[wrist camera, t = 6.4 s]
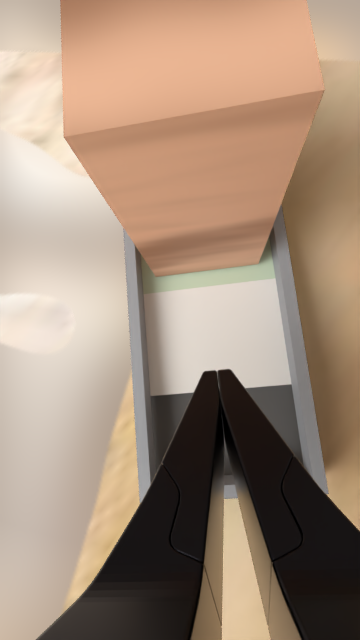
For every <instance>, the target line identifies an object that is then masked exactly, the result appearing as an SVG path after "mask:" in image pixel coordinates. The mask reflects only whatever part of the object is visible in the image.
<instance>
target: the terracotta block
mask: <svg viewBox="0 0 360 640" xmlns="http://www.w3.org/2000/svg"><path fill="white" fill-rule="evenodd" d="M60 1H61V39H62V41H61V42H62V83H63V124H64V138H65V140H66V141H67V143H68V144H69V146H70V147H71V149H72V150H73V152H74V153H75V155H76V156H77V158H78V159H79V161H80V162H81V164H82V165H83V167H84V168H85V170H86V171H87V173H88V174H89V176H90V178H91V179H92V181H93V182H94V184H95V185H96V187H97V188H98V190H99V191H100V193H101V194H102V196H103V197H104V199H105V200H106V202H107V203H108V205H109V206H110V208H111V209H112V211H113V212H114V214H115V216H116V217H117V219H118V220H119V222H120V223H121V225H122V226H123V228H124V229H125V231H126V232H127V234H128V235H129V237H130V238H131V240H132V241H133V243H134V244H135V246H136V247H137V249H138V250H139V252H140V253H141V255H142V257H143V258H144V260H145V261H146V263H147V264H148V266H149V267H150V269H151V270H152V272H153V273H154V275H155V276H156V277H160V276H168V275H176V274H184V273H192V272H200V271H208V270H216V269H223V268H231V267H239V266H247V265H255V264H259V261H260V258H261V256H262V253H263V250H264V248H265V245H266V242H267V240H268V237H269V235H270V232H271V229H272V227H273V224H274V221H275V219H276V216H277V214H278V211H279V208H280V206H281V203H282V200H283V198H284V195H285V193H286V190H287V187H288V185H289V182H290V179H291V177H292V174H293V172H294V169H295V166H296V164H297V161H298V158H299V156H300V153H301V151H302V148H303V145H304V143H305V140H306V137H307V135H308V132H309V130H310V127H311V124H312V122H313V119H314V116H315V114H316V111H317V109H318V106H319V103H320V101H321V98H322V95H323V93H324V90H325V88H324V83H323V78H322V74H321V69H320V64H319V59H318V55H317V49H316V45H315V40H314V35H313V30H312V25H311V20H310V15H309V11H308V5H307V0H60Z"/></svg>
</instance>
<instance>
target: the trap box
mask: <svg viewBox="0 0 360 640" xmlns="http://www.w3.org/2000/svg"><path fill="white" fill-rule="evenodd" d="M123 230H124V248H125V263H126V280H127V297H128V314H129V329H130V347H131V363H132V380H133V397H134V413H135V430H136V447H137V463H138V480H139V496H140V503H141V502H142V500H143V498H144V496H145V494H146V492H147V491H148V489H149V487H150V485H151V483H152V481H153V479H154V477H155V474H156V472H157V470H158V468H159V466H160V464H162V463H161V462H162V460H163V457H164V455H165V453H166V451H167V449H168V447H169V444H170V442H171V440H172V438H173V436H174V434H175V431H176V429H177V427H178V425H179V423H180V421H181V419H182V416H183V414H184V412H185V410H186V408H187V406H188V403H189V401H190V399H191V397H192V395H193V393H194V390H195V388H196V386H197V384H198V382H199V380H200V377H201V375H202V373H203V372H204V371H210V370H216V371H218V370H221V369H231V370H232V371H233V373H234V374H235V375H236V377H237V378H238V379H239V381H240V382H241V383H242V385H243V386H244V387H245V389H246V390H247V391H248V393H249V394H250V396H251V397H252V398H253V400H254V401H255V402H256V404H257V405H258V406H259V408H260V409H261V410H262V412H263V413H264V414H265V416H266V417H267V418H268V420H269V421H270V422H271V424H272V425H273V426H274V428H275V429H276V430H277V432H278V433H279V434H280V436H281V437H282V438H283V440H284V441H285V442H286V444H287V445H288V447H289V448H290V449H291V451H292V452H293V453H294V456H296V457H297V458H298V460H299V461H300V462H301V464H302V465H303V466H304V468H305V469H306V470H307V472H308V473H309V474H310V475H311V477H312V478H313V479H314V480H315V482H316V483H317V484H318V486H319V487H320V488H321V489H322V490H323V491H324V492H325V494H329V493H328V487H327V481H326V475H325V469H324V463H323V456H322V450H321V444H320V438H319V432H318V426H317V420H316V413H315V407H314V401H313V395H312V389H311V383H310V376H309V370H308V364H307V358H306V352H305V346H304V339H303V333H302V327H301V321H300V315H299V309H298V303H297V296H296V290H295V284H294V278H293V272H292V266H291V259H290V253H289V247H288V241H287V235H286V229H285V223H284V216H283V210H282V204H281V206H280V208H279V211H278V214H277V216H276V219H275V221H274V224H273V227H272V229H271V232H270V235H269V237H268V240H267V242H266V245H265V248H264V250H263V253H262V256H261V258H260V261H259V264H255V265H247V266H239V267H231V268H223V269H216V270H208V271H200V272H192V273H184V274H176V275H168V276H160V277H156V276H155V275H154V273H153V272H152V270H151V269H150V267H149V266H148V264H147V263H146V261H145V260H144V258H143V257H142V255H141V253H140V252H139V250H138V249H137V247H136V246H135V244H134V243H133V241H132V240H131V238H130V237H129V235H128V234H127V232H126V231H125V229H124V228H123ZM217 376H218V375H217ZM218 385H219V384H218ZM219 394H220V393H219ZM221 413H222V412H221ZM222 422H223V421H222ZM223 431H224V430H223ZM224 448H225V452H224V499H230V498H238V496H237V492H236V488H235V483H234V479H233V475H232V470H231V466H230V462H229V458H228V453H227V449H226V444H225V438H224Z"/></svg>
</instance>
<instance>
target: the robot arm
mask: <svg viewBox="0 0 360 640" xmlns="http://www.w3.org/2000/svg"><path fill="white" fill-rule="evenodd" d="M217 375H218V376H217ZM218 384H219V385H218ZM219 393H220V394H219ZM221 412H222V413H221ZM222 421H223V422H222ZM223 430H224V431H223ZM224 438H225V444H226V449H227V453H228V458H229V462H230V466H231V470H232V475H233V479H234V483H235V488H236V492H237V496H238V500H239V505H240V509H241V513H242V517H243V522H244V526H245V530H246V535H247V539H248V543H249V547H250V552H251V556H252V560H253V565H254V569H255V573H256V577H257V582H258V586H259V590H260V595H261V599H262V603H263V607H264V612H265V616H266V620H267V624H268V626H269V633H270V638H271V640H360V531H359V530H358V529H357V528H356V527H355V526H354V525H353V524H352V522H351V521H350V520H349V519H348V518H347V517H346V516H345V515H344V514H343V513H342V512H341V511H340V509H339V508H338V507H337V506H336V505H335V504H334V503H333V502H332V500H331V499H330V498H329V497H328V496H327V495H326V494H325V492H324V491H323V490H322V489H321V488H320V487H319V486H318V484H317V483H316V482H315V480H314V479H313V478H312V477H311V475H310V474H309V473H308V472H307V470H306V469H305V468H304V466H303V465H302V464H301V462H300V461H299V460H298V458H297V457H296V456H294V453H293V452H292V451H291V449H290V448H289V447H288V445H287V444H286V442H285V441H284V440H283V438H282V437H281V436H280V434H279V433H278V432H277V430H276V429H275V428H274V426H273V425H272V424H271V422H270V421H269V420H268V418H267V417H266V416H265V414H264V413H263V412H262V410H261V409H260V408H259V406H258V405H257V404H256V402H255V401H254V400H253V398H252V397H251V396H250V394H249V393H248V391H247V390H246V389H245V387H244V386H243V385H242V383H241V382H240V381H239V379H238V378H237V377H236V375H235V374H234V373H233V371H232V370H231V369H221V370H218V371H216V370H210V371H204V372H203V373H202V375H201V377H200V380H199V382H198V384H197V386H196V388H195V390H194V393H193V395H192V397H191V399H190V401H189V403H188V406H187V408H186V410H185V412H184V414H183V416H182V419H181V421H180V423H179V425H178V427H177V429H176V431H175V434H174V436H173V438H172V440H171V442H170V444H169V447H168V449H167V451H166V453H165V455H164V457H163V460H162V462H161V463H162V464H160V466H159V468H158V470H157V472H156V474H155V477H154V479H153V481H152V483H151V485H150V487H149V489H148V491H147V492H146V494H145V496H144V498H143V500H142V502H141V503H140V505H139V507H138V509H137V510H136V512H135V514H134V516H133V517H132V519H131V520H130V522H129V524H128V525H127V527H126V529H125V530H124V532H123V534H122V535H121V537H120V538H119V540H118V542H117V543H116V545H115V547H114V548H113V550H112V552H111V553H110V555H109V557H108V558H107V560H106V561H105V563H104V565H103V566H102V568H101V569H100V571H99V573H98V574H97V576H96V577H95V578H94V580H93V581H92V583H91V584H90V585H89V587H88V588H87V589H86V590H85V592H84V593H83V594H82V595H81V596H80V597H79V598H78V599H77V600H76V601H75V602H74V603H73V604H72V605H71V606H70V607H69V608H68V609H67V610H66V611H65V612H64V613H63V614H62V615H61V616H60V617H59V618H58V619H57V620H56V621H55V622H54V623H53V624H52V625H51V626H50V627H49V628H48V629H47V630H46V631H44V633H42V634H41V635H40V636H39V637H38V638H37V639H36V640H222V628H221V626H222V580H223V516H224V452H225V448H224Z"/></svg>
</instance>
